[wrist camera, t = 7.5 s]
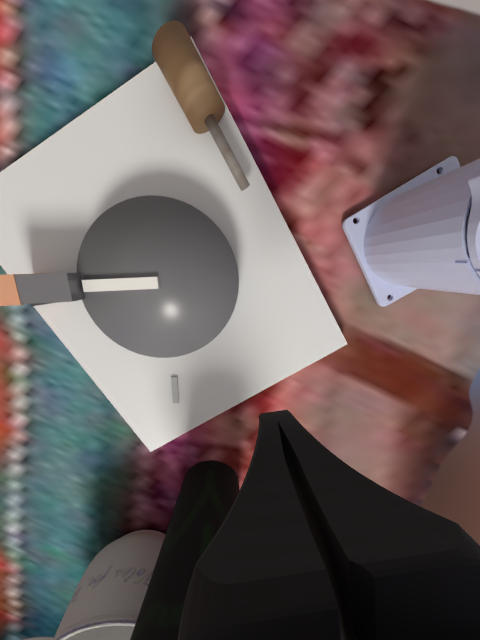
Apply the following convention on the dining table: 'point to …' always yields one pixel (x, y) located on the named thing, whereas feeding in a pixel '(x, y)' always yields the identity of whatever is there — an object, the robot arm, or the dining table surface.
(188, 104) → the screwdriver
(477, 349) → the dining table surface
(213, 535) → the cup
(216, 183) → the board
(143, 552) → the teacup
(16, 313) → the dining table surface
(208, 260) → the grey handled disc
